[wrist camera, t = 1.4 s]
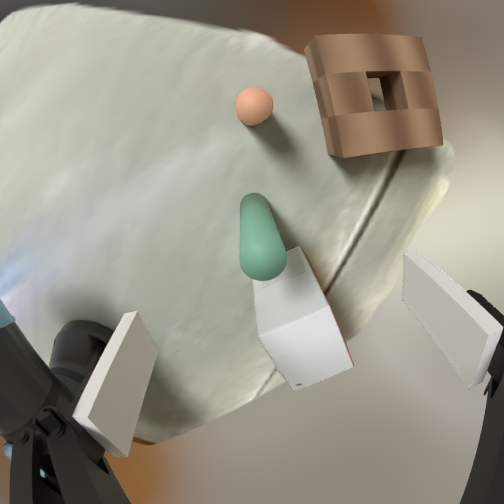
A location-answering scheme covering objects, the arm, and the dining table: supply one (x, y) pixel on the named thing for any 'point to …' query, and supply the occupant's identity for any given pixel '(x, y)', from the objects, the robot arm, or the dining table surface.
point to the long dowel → (260, 240)
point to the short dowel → (253, 106)
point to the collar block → (359, 97)
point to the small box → (299, 325)
